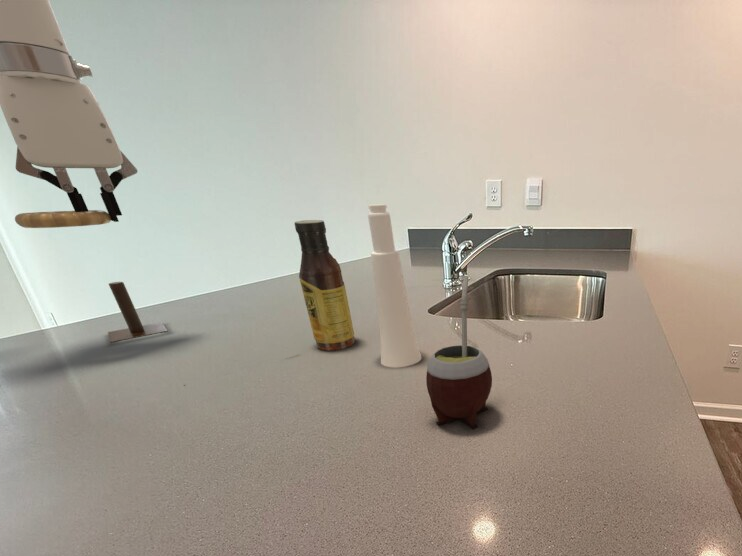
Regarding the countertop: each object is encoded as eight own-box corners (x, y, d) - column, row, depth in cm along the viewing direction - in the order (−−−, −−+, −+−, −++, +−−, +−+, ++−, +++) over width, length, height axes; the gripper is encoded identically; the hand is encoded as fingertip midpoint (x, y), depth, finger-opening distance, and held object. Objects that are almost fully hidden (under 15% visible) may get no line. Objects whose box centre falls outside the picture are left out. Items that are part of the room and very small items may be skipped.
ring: (16, 230, 52) (8, 214, 52) (23, 226, 59) (16, 212, 58) (115, 224, 58) (109, 210, 57) (111, 221, 64) (106, 209, 64)
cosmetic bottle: (384, 372, 59) (354, 206, 49) (378, 358, 64) (350, 204, 54) (425, 364, 61) (405, 204, 51) (417, 351, 66) (396, 203, 56)
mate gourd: (447, 442, 42) (430, 299, 35) (420, 411, 48) (401, 284, 41) (508, 421, 46) (504, 287, 39) (475, 394, 52) (467, 275, 45)
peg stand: (113, 347, 71) (85, 290, 67) (110, 337, 76) (84, 283, 72) (169, 335, 76) (147, 282, 72) (163, 326, 81) (142, 276, 77)
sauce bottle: (317, 343, 70) (286, 220, 62) (355, 337, 72) (330, 218, 64) (317, 356, 65) (283, 223, 56) (358, 349, 67) (331, 220, 58)
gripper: (117, 83, 60) (165, 217, 68) (-54, 64, 50) (26, 224, 58) (121, 73, 55) (172, 219, 63) (-68, 50, 45) (22, 227, 53)
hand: (102, 220), depth 61 cm, fingers closed on ring, 2 cm apart
